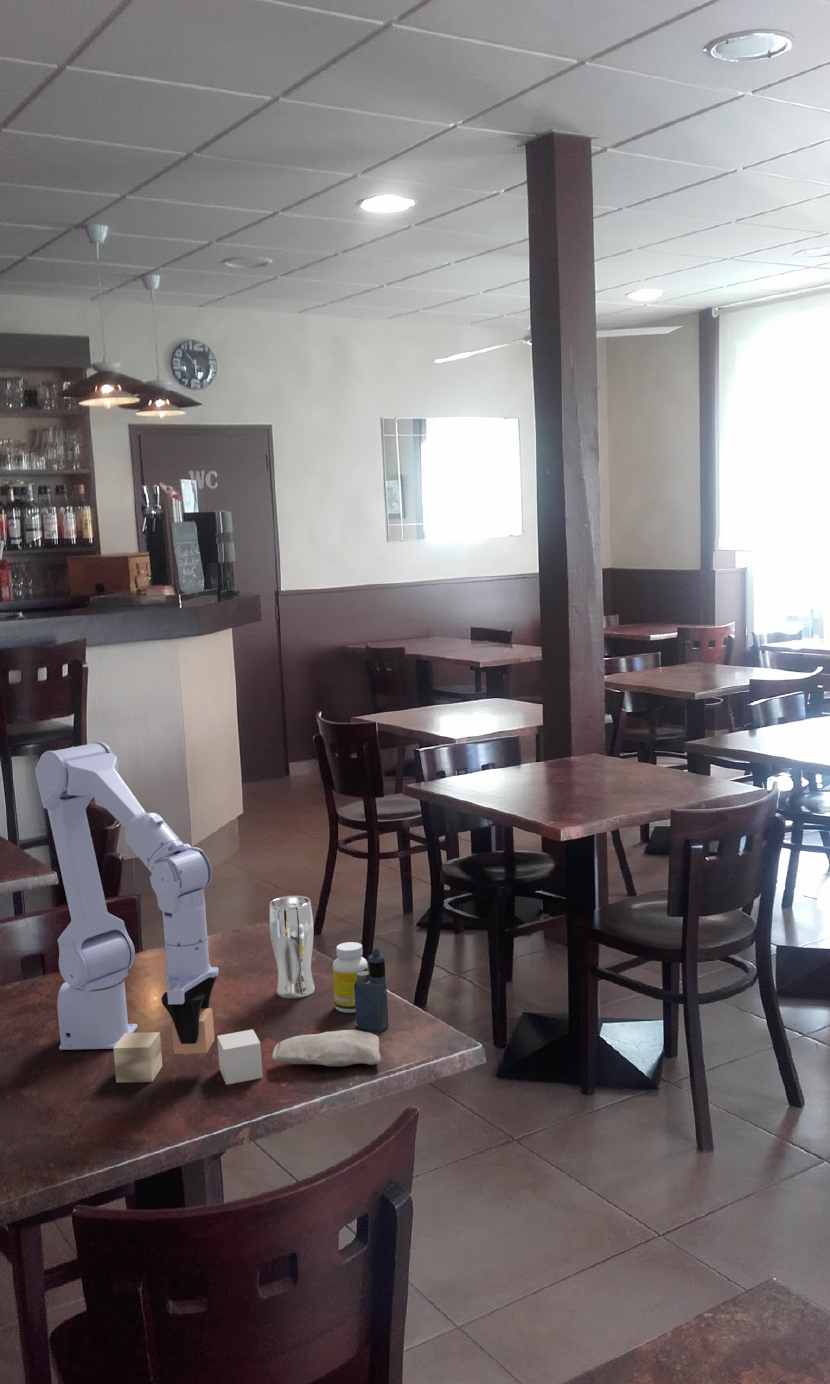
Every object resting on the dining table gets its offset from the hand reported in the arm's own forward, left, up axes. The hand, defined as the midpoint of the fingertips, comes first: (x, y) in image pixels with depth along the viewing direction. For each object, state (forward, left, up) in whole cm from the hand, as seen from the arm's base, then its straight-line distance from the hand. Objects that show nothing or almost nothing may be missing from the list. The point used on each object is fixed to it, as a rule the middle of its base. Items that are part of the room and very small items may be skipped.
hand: (193, 1035), depth 162 cm
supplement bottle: (+19, +22, -6) cm, 30 cm away
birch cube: (-8, 0, -6) cm, 10 cm away
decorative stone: (+18, +3, -6) cm, 19 cm away
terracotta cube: (0, 0, -2) cm, 2 cm away
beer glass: (+9, +29, -6) cm, 31 cm away
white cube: (+6, -1, -6) cm, 8 cm away
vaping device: (+23, +14, -6) cm, 28 cm away
